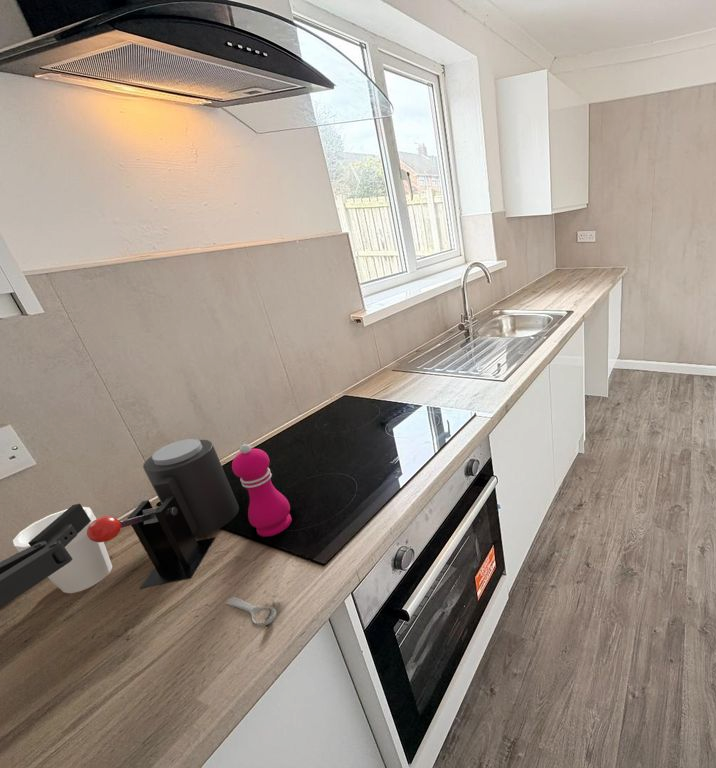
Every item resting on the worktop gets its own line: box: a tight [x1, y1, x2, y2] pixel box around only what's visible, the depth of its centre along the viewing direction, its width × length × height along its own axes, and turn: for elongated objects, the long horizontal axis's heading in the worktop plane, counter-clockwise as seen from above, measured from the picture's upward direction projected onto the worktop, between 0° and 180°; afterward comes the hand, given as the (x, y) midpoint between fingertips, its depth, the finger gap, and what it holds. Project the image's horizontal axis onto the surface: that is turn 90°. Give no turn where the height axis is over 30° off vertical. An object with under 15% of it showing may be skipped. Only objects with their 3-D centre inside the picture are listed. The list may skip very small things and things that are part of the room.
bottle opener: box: [225, 596, 277, 626], centre depth 66 cm, size 3×12×2 cm, turn 67°
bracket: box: [126, 496, 217, 590], centre depth 73 cm, size 10×8×14 cm
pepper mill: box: [231, 443, 293, 538], centre depth 79 cm, size 7×7×20 cm
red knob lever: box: [87, 505, 161, 543], centre depth 66 cm, size 14×4×4 cm, turn 13°
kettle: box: [142, 438, 240, 539], centre depth 83 cm, size 16×11×18 cm
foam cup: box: [12, 506, 113, 594], centre depth 72 cm, size 10×9×13 cm
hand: (17, 526), depth 49 cm, fingers open, 13 cm apart
